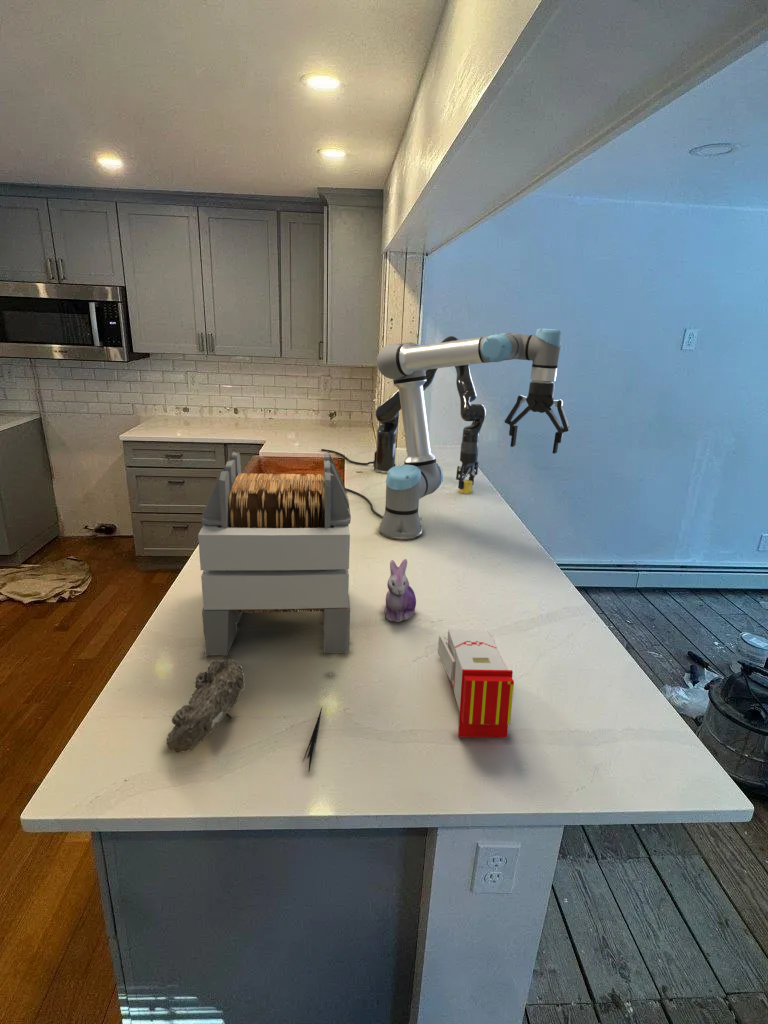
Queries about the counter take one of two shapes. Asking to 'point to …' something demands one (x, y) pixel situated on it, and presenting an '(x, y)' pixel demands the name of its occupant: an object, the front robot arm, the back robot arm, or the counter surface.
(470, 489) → the cylinder
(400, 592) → the figurine
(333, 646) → the record crate
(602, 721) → the counter surface
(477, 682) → the toy
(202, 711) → the fossil
